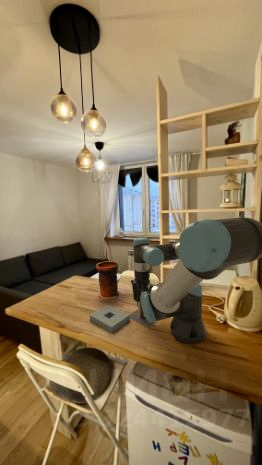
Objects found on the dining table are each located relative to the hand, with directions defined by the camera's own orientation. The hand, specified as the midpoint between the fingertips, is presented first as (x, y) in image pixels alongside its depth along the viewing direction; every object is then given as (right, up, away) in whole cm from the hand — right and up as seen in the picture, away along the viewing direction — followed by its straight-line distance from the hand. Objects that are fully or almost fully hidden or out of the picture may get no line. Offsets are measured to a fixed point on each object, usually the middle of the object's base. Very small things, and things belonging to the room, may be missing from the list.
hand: (143, 314), depth 98 cm
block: (-17, -3, -1) cm, 17 cm away
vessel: (-20, +1, +28) cm, 35 cm away
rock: (+1, +1, +19) cm, 19 cm away
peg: (0, -2, 0) cm, 2 cm away
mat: (0, -2, 0) cm, 2 cm away
